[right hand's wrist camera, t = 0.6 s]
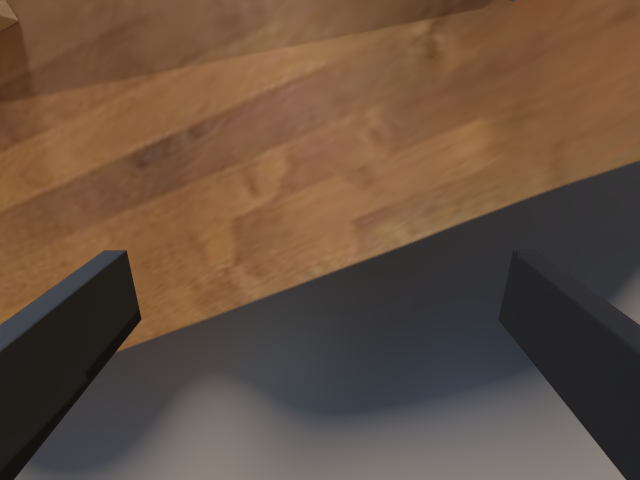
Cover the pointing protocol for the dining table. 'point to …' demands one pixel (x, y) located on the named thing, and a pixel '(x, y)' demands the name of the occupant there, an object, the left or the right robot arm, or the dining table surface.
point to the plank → (6, 15)
